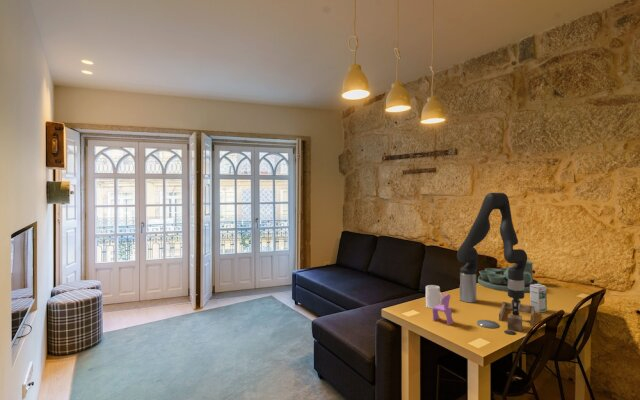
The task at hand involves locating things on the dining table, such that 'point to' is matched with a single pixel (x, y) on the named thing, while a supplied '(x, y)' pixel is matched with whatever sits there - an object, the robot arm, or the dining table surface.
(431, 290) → the mug
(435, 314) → the toy chair
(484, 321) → the slate coaster
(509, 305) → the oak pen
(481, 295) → the dining table surface
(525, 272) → the tea set
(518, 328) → the walnut block
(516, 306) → the robot arm
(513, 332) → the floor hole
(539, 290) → the syrup box
